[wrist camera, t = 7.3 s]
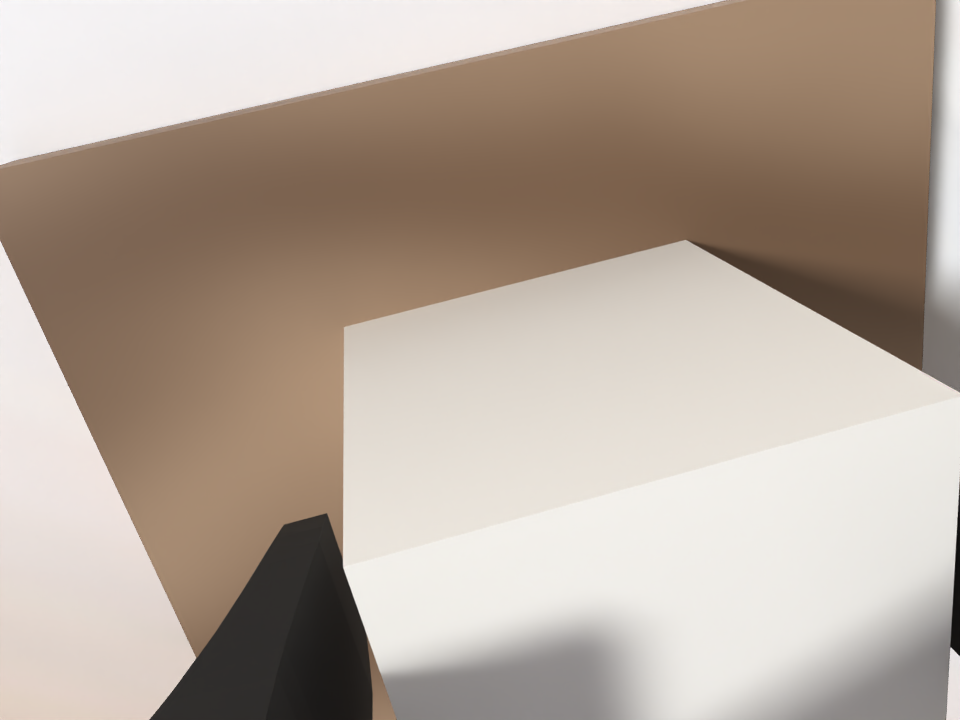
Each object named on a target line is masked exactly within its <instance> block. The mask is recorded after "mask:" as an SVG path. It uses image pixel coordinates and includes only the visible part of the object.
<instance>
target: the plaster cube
mask: <svg viewBox="0 0 960 720" xmlns="http://www.w3.org/2000/svg"><path fill="white" fill-rule="evenodd" d="M959 482H960V392H958V391H956V390H954V389H953V388H951V387H949V386H947V385H945V384H944V383H942V382H940V381H938V380H936V379H935V378H933V377H931V376H929V375H927V374H926V373H924V372H922V371H920V370H918V369H917V368H915V367H913V366H911V365H909V364H908V363H906V362H904V361H902V360H900V359H899V358H897V357H895V356H893V355H892V354H890V353H888V352H886V351H884V350H883V349H881V348H879V347H877V346H875V345H874V344H872V343H870V342H868V341H866V340H865V339H863V338H861V337H859V336H857V335H856V334H854V333H852V332H850V331H848V330H847V329H845V328H843V327H841V326H839V325H838V324H836V323H834V322H832V321H830V320H829V319H827V318H825V317H823V316H822V315H820V314H818V313H816V312H814V311H813V310H811V309H809V308H807V307H805V306H804V305H802V304H800V303H798V302H796V301H795V300H793V299H791V298H789V297H787V296H786V295H784V294H782V293H780V292H778V291H777V290H775V289H773V288H771V287H769V286H768V285H766V284H764V283H762V282H761V281H759V280H757V279H755V278H753V277H752V276H750V275H748V274H746V273H744V272H743V271H741V270H739V269H737V268H735V267H734V266H732V265H730V264H728V263H726V262H725V261H723V260H721V259H719V258H717V257H716V256H714V255H712V254H710V253H708V252H707V251H705V250H703V249H701V248H700V247H698V246H696V245H694V244H692V243H691V242H689V241H687V240H683V241H679V242H676V243H672V244H668V245H664V246H660V247H656V248H652V249H648V250H644V251H640V252H636V253H632V254H628V255H625V256H621V257H617V258H613V259H609V260H605V261H601V262H597V263H593V264H589V265H585V266H581V267H578V268H574V269H570V270H566V271H562V272H558V273H554V274H550V275H546V276H542V277H538V278H534V279H530V280H527V281H523V282H519V283H515V284H511V285H507V286H503V287H499V288H495V289H491V290H487V291H483V292H479V293H476V294H472V295H468V296H464V297H460V298H456V299H452V300H448V301H444V302H440V303H436V304H432V305H428V306H425V307H421V308H417V309H413V310H409V311H405V312H401V313H397V314H393V315H389V316H385V317H381V318H378V319H374V320H370V321H366V322H362V323H358V324H354V325H350V326H346V327H344V445H343V569H344V571H345V574H346V577H347V580H348V583H349V586H350V588H351V591H352V594H353V597H354V600H355V603H356V605H357V608H358V611H359V614H360V617H361V620H362V622H363V625H364V628H365V631H366V634H367V637H368V639H369V642H370V645H371V648H372V651H373V654H374V656H375V659H376V662H377V665H378V668H379V671H380V673H381V676H382V679H383V682H384V685H385V688H386V690H387V693H388V696H389V699H390V702H391V705H392V707H393V710H394V713H395V716H396V719H397V720H946V712H947V694H948V677H949V659H950V641H951V624H952V606H953V588H954V571H955V553H956V535H957V517H958V500H959Z"/></svg>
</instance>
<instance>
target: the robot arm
mask: <svg viewBox="0 0 960 720" xmlns="http://www.w3.org/2000/svg"><path fill="white" fill-rule="evenodd" d="M950 647H951V648H952V649H953V650H954V651H955V652H956V653H957V654H958V655H959V656H960V482H959V500H958V517H957V535H956V553H955V571H954V588H953V606H952V624H951V641H950ZM372 719H373V691H372V680H371V670H370V660H369V651H368V643H367V634H366V631H365V628H364V625H363V622H362V620H361V617H360V614H359V611H358V608H357V605H356V603H355V600H354V597H353V594H352V591H351V588H350V586H349V583H348V580H347V577H346V574H345V571H344V569H343V558H342V555H341V552H340V549H339V547H338V544H337V541H336V538H335V535H334V532H333V529H332V526H331V523H330V520H329V517H328V514H327V513H326V514H322V515H318V516H314V517H311V518H307V519H303V520H299V521H295V522H292V523H288V524H284V525H283V527H282V528H281V530H280V531H279V533H278V534H277V536H276V537H275V539H274V541H273V542H272V544H271V545H270V547H269V548H268V550H267V552H266V553H265V555H264V557H263V558H262V560H261V561H260V563H259V565H258V566H257V568H256V570H255V571H254V573H253V574H252V576H251V578H250V579H249V581H248V582H247V584H246V586H245V587H244V589H243V591H242V592H241V594H240V595H239V597H238V598H237V600H236V601H235V603H234V604H233V606H232V608H231V609H230V611H229V612H228V614H227V615H226V617H225V618H224V620H223V621H222V623H221V624H220V626H219V627H218V629H217V631H216V632H215V634H214V635H213V636H212V638H211V639H210V640H209V642H208V643H207V645H206V646H205V647H204V649H203V650H202V651H201V653H200V654H199V656H198V657H197V658H196V660H195V661H194V663H193V664H192V665H191V667H190V668H189V669H188V671H187V672H186V674H185V675H184V676H183V678H182V679H181V680H180V682H179V683H178V685H177V686H176V687H175V689H174V690H173V691H172V692H171V694H170V695H169V696H168V698H167V699H166V700H165V701H164V703H163V704H162V705H161V706H160V708H159V709H158V710H157V711H156V712H155V714H154V715H153V716H152V717H151V719H150V720H372Z"/></svg>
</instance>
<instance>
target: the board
mask: <svg viewBox="0 0 960 720" xmlns="http://www.w3.org/2000/svg"><path fill="white" fill-rule="evenodd" d="M935 11H936V0H726V1H722V2H717V3H713V4H708V5H704V6H699V7H695V8H691V9H686V10H682V11H677V12H673V13H668V14H664V15H659V16H655V17H651V18H646V19H642V20H637V21H633V22H628V23H624V24H620V25H615V26H611V27H606V28H602V29H597V30H593V31H588V32H584V33H580V34H575V35H571V36H566V37H562V38H557V39H553V40H548V41H544V42H540V43H535V44H531V45H526V46H522V47H517V48H513V49H508V50H504V51H500V52H495V53H491V54H486V55H482V56H477V57H473V58H469V59H464V60H460V61H455V62H451V63H446V64H442V65H437V66H433V67H429V68H424V69H420V70H415V71H411V72H406V73H402V74H397V75H393V76H389V77H384V78H380V79H375V80H371V81H366V82H362V83H357V84H353V85H349V86H344V87H340V88H335V89H331V90H326V91H322V92H318V93H313V94H309V95H304V96H300V97H295V98H291V99H286V100H282V101H278V102H273V103H269V104H264V105H260V106H255V107H251V108H246V109H242V110H238V111H233V112H229V113H224V114H220V115H215V116H211V117H206V118H202V119H198V120H193V121H189V122H184V123H180V124H175V125H171V126H167V127H162V128H158V129H153V130H149V131H144V132H140V133H135V134H131V135H127V136H122V137H118V138H113V139H109V140H104V141H100V142H95V143H91V144H87V145H82V146H78V147H73V148H69V149H64V150H60V151H55V152H51V153H47V154H42V155H38V156H33V157H29V158H24V159H20V160H16V161H12V162H9V163H6V164H3V165H0V241H1V243H2V245H3V247H4V249H5V252H6V254H7V256H8V258H9V260H10V262H11V264H12V266H13V269H14V271H15V273H16V275H17V277H18V279H19V281H20V283H21V286H22V288H23V290H24V292H25V294H26V296H27V298H28V300H29V303H30V305H31V307H32V309H33V311H34V313H35V315H36V317H37V320H38V322H39V324H40V326H41V328H42V330H43V332H44V335H45V337H46V339H47V341H48V343H49V345H50V347H51V349H52V352H53V354H54V356H55V358H56V360H57V362H58V364H59V366H60V369H61V371H62V373H63V375H64V377H65V379H66V381H67V383H68V386H69V388H70V390H71V392H72V394H73V396H74V398H75V400H76V403H77V405H78V407H79V409H80V411H81V413H82V415H83V417H84V420H85V422H86V424H87V426H88V428H89V430H90V432H91V435H92V437H93V439H94V441H95V443H96V445H97V447H98V449H99V452H100V454H101V456H102V458H103V460H104V462H105V464H106V466H107V469H108V471H109V473H110V475H111V477H112V479H113V481H114V483H115V486H116V488H117V490H118V492H119V494H120V496H121V498H122V500H123V503H124V505H125V507H126V509H127V511H128V513H129V515H130V517H131V520H132V522H133V524H134V526H135V528H136V530H137V532H138V535H139V537H140V539H141V541H142V543H143V545H144V547H145V549H146V552H147V554H148V556H149V558H150V560H151V562H152V564H153V566H154V569H155V571H156V573H157V575H158V577H159V579H160V581H161V583H162V586H163V588H164V590H165V592H166V594H167V596H168V598H169V600H170V603H171V605H172V607H173V609H174V611H175V613H176V615H177V618H178V620H179V622H180V624H181V626H182V628H183V630H184V632H185V635H186V637H187V639H188V641H189V643H190V645H191V647H192V649H193V652H194V654H195V656H196V658H197V657H198V656H199V654H200V653H201V651H202V650H203V649H204V647H205V646H206V645H207V643H208V642H209V640H210V639H211V638H212V636H213V635H214V634H215V632H216V631H217V629H218V627H219V626H220V624H221V623H222V621H223V620H224V618H225V617H226V615H227V614H228V612H229V611H230V609H231V608H232V606H233V604H234V603H235V601H236V600H237V598H238V597H239V595H240V594H241V592H242V591H243V589H244V587H245V586H246V584H247V582H248V581H249V579H250V578H251V576H252V574H253V573H254V571H255V570H256V568H257V566H258V565H259V563H260V561H261V560H262V558H263V557H264V555H265V553H266V552H267V550H268V548H269V547H270V545H271V544H272V542H273V541H274V539H275V537H276V536H277V534H278V533H279V531H280V530H281V528H282V527H283V525H284V524H288V523H292V522H295V521H299V520H303V519H307V518H311V517H314V516H318V515H322V514H326V513H327V514H328V517H329V520H330V523H331V526H332V529H333V532H334V535H335V538H336V541H337V544H338V547H339V549H340V552H341V555H342V558H343V445H344V327H346V326H350V325H354V324H358V323H362V322H366V321H370V320H374V319H378V318H381V317H385V316H389V315H393V314H397V313H401V312H405V311H409V310H413V309H417V308H421V307H425V306H428V305H432V304H436V303H440V302H444V301H448V300H452V299H456V298H460V297H464V296H468V295H472V294H476V293H479V292H483V291H487V290H491V289H495V288H499V287H503V286H507V285H511V284H515V283H519V282H523V281H527V280H530V279H534V278H538V277H542V276H546V275H550V274H554V273H558V272H562V271H566V270H570V269H574V268H578V267H581V266H585V265H589V264H593V263H597V262H601V261H605V260H609V259H613V258H617V257H621V256H625V255H628V254H632V253H636V252H640V251H644V250H648V249H652V248H656V247H660V246H664V245H668V244H672V243H676V242H679V241H683V240H687V241H689V242H691V243H692V244H694V245H696V246H698V247H700V248H701V249H703V250H705V251H707V252H708V253H710V254H712V255H714V256H716V257H717V258H719V259H721V260H723V261H725V262H726V263H728V264H730V265H732V266H734V267H735V268H737V269H739V270H741V271H743V272H744V273H746V274H748V275H750V276H752V277H753V278H755V279H757V280H759V281H761V282H762V283H764V284H766V285H768V286H769V287H771V288H773V289H775V290H777V291H778V292H780V293H782V294H784V295H786V296H787V297H789V298H791V299H793V300H795V301H796V302H798V303H800V304H802V305H804V306H805V307H807V308H809V309H811V310H813V311H814V312H816V313H818V314H820V315H822V316H823V317H825V318H827V319H829V320H830V321H832V322H834V323H836V324H838V325H839V326H841V327H843V328H845V329H847V330H848V331H850V332H852V333H854V334H856V335H857V336H859V337H861V338H863V339H865V340H866V341H868V342H870V343H872V344H874V345H875V346H877V347H879V348H881V349H883V350H884V351H886V352H888V353H890V354H892V355H893V356H895V357H897V358H899V359H900V360H902V361H904V362H906V363H908V364H909V365H911V366H913V367H915V368H917V369H918V370H920V371H922V357H923V330H924V303H925V277H926V250H927V224H928V197H929V170H930V144H931V117H932V91H933V64H934V38H935ZM367 643H368V651H369V660H370V670H371V680H372V691H373V719H372V720H397V719H396V716H395V713H394V710H393V707H392V705H391V702H390V699H389V696H388V693H387V690H386V688H385V685H384V682H383V679H382V676H381V673H380V671H379V668H378V665H377V662H376V659H375V656H374V654H373V651H372V648H371V645H370V642H369V639H368V637H367Z"/></svg>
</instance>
